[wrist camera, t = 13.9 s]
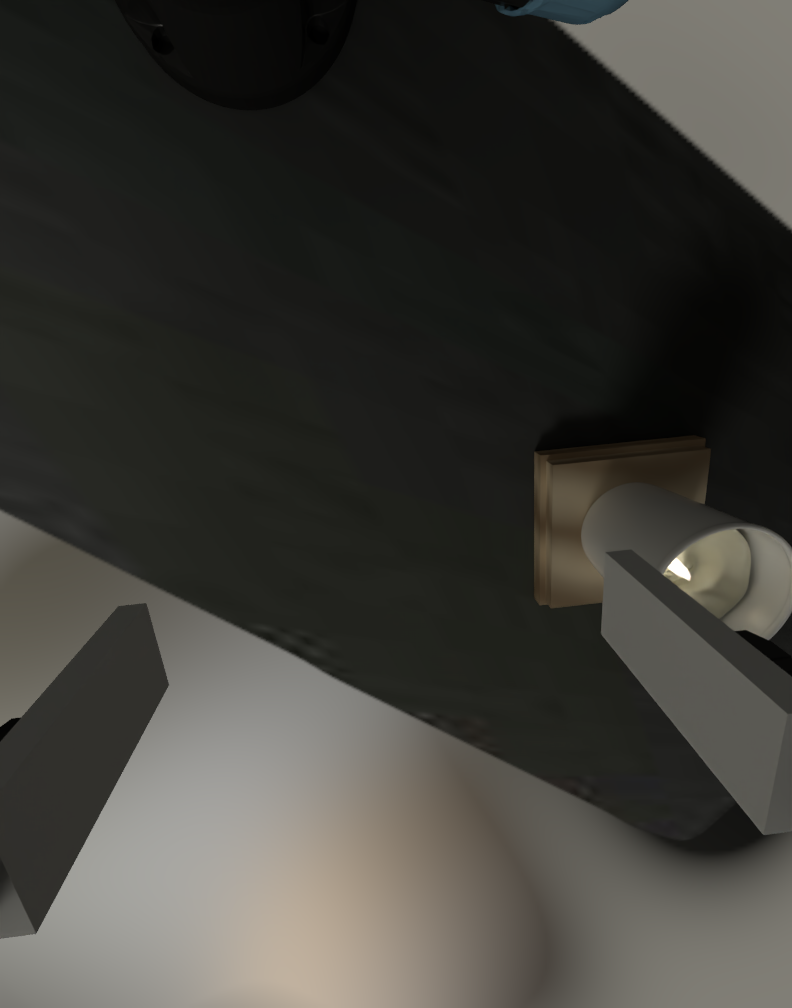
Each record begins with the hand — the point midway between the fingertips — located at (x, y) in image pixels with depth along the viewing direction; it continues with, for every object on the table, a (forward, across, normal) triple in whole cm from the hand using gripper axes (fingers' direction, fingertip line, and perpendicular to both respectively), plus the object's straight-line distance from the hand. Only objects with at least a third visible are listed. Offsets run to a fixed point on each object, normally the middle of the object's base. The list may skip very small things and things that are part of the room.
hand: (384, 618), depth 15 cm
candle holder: (+26, +21, -10) cm, 35 cm away
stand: (+29, +21, -10) cm, 37 cm away
